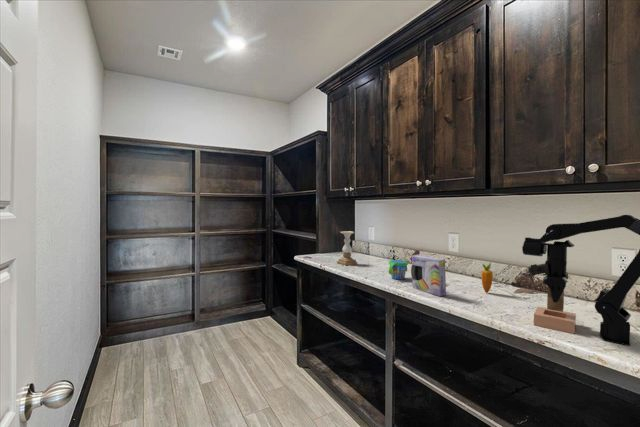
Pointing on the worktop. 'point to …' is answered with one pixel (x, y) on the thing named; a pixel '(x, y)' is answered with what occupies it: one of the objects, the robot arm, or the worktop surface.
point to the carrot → (487, 277)
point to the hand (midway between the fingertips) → (555, 300)
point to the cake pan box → (429, 274)
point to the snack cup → (398, 269)
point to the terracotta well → (555, 319)
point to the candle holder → (347, 250)
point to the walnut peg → (553, 305)
